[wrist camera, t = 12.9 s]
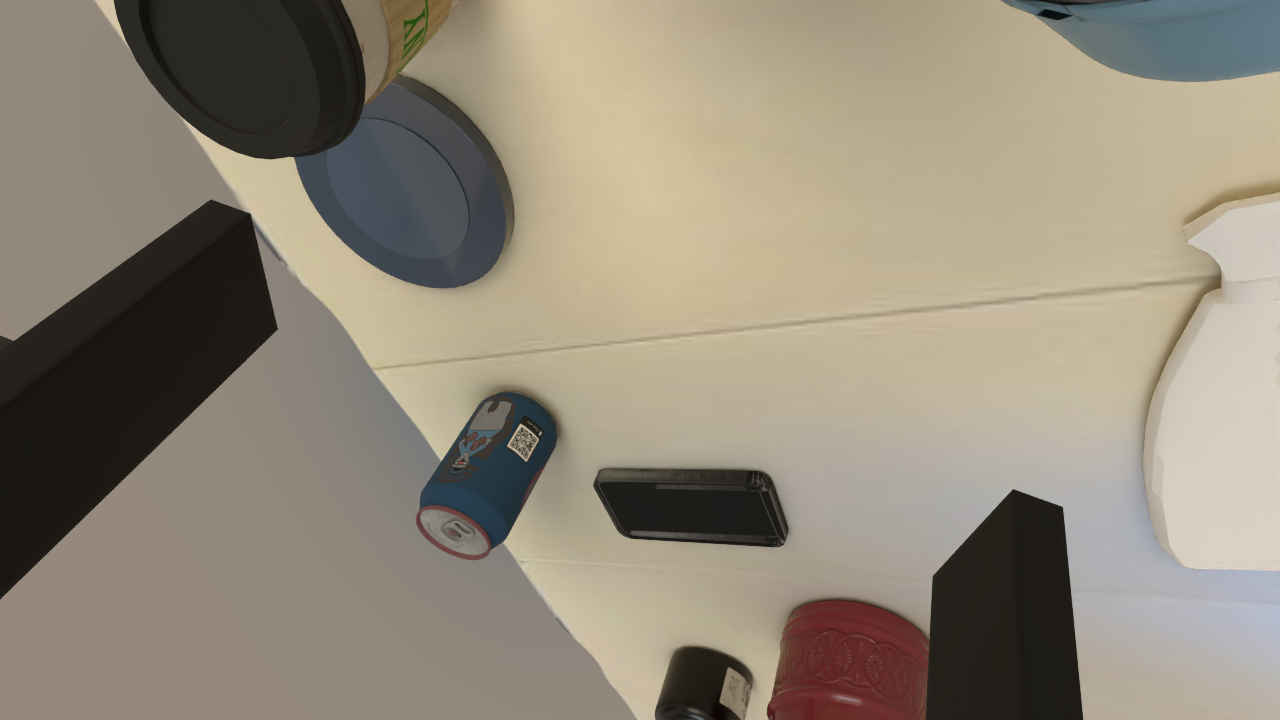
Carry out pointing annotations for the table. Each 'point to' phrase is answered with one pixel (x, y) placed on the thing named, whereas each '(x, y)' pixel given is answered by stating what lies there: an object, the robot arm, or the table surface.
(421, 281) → the plate
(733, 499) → the phone
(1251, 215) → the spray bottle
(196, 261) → the robot arm
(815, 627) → the kitchen canister
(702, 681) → the ink bottle
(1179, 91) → the table surface
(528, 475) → the soda can
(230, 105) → the coffee cup
